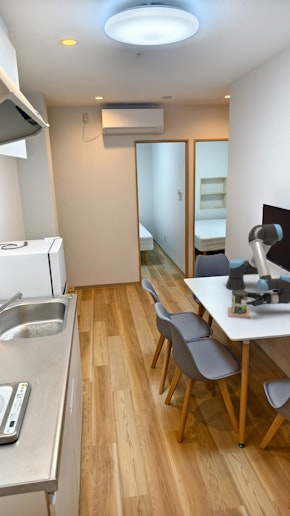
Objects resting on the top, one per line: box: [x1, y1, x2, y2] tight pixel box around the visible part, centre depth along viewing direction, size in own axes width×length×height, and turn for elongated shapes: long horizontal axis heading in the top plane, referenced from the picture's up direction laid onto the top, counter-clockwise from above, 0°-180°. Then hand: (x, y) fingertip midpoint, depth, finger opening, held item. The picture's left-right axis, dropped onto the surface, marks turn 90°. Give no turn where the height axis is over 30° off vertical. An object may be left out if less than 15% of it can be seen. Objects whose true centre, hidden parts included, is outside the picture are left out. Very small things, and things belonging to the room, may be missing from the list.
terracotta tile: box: [227, 306, 251, 319], centre depth 231 cm, size 14×14×1 cm
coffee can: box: [230, 289, 249, 315], centre depth 229 cm, size 10×10×14 cm
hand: (238, 299), depth 229 cm, fingers open, 13 cm apart
